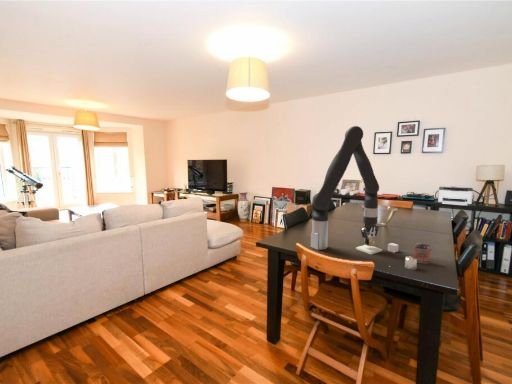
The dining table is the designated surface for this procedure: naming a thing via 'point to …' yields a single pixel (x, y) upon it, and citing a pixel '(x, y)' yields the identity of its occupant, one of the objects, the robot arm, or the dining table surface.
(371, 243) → the beech block
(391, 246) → the white block
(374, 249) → the plate
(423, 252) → the lighter
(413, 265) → the metal tin
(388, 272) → the dining table surface
